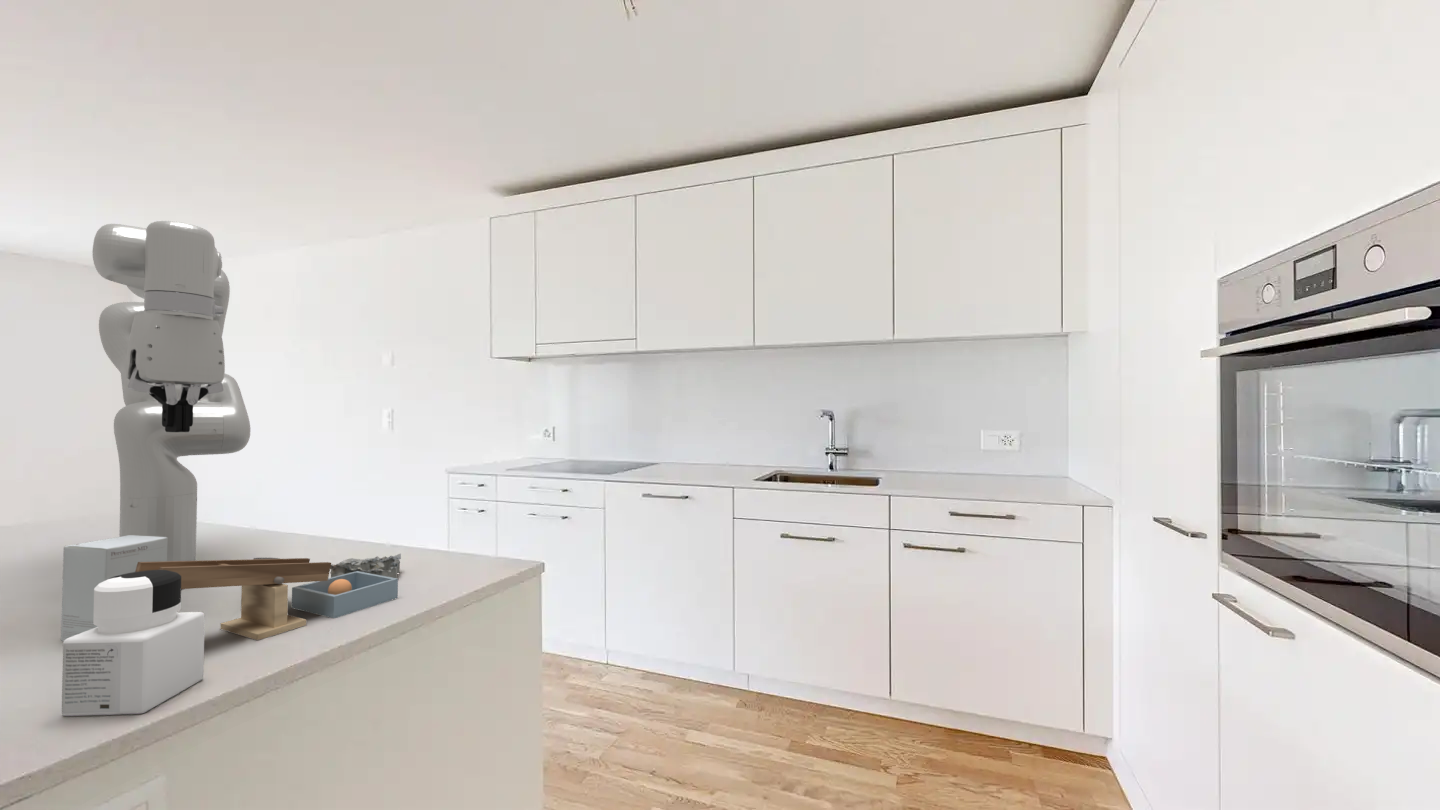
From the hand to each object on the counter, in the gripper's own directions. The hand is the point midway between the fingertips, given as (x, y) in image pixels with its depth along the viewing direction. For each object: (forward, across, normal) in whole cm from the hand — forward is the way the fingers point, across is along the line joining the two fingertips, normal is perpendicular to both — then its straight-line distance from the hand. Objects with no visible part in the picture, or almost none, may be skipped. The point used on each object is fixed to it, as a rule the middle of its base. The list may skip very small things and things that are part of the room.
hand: (177, 431), depth 85 cm
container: (+27, +14, +27) cm, 41 cm away
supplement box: (+27, +7, +2) cm, 28 cm away
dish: (+28, -14, +17) cm, 35 cm away
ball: (+25, -15, +15) cm, 33 cm away
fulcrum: (+27, -3, +17) cm, 32 cm away
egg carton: (+28, -24, +7) cm, 38 cm away
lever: (+20, 0, +12) cm, 24 cm away
